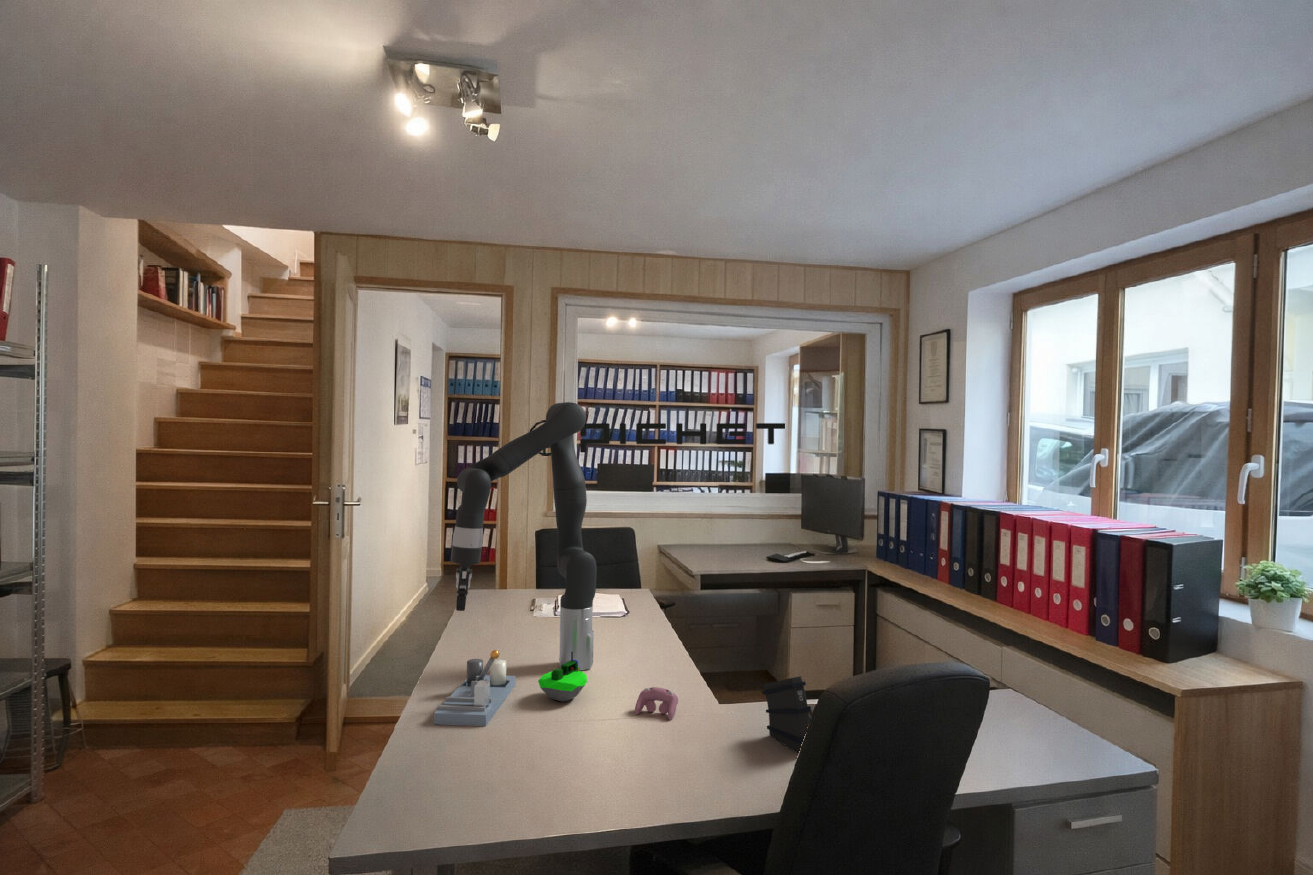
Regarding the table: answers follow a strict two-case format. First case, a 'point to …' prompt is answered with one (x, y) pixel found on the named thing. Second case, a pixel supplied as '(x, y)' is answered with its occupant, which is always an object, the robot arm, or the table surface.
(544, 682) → the green floating island model
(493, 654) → the toggle lever
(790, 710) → the magazine
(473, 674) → the button
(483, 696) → the slider knob
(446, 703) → the panel
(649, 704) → the video game controller
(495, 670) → the button
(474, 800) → the table surface
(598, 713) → the table surface
